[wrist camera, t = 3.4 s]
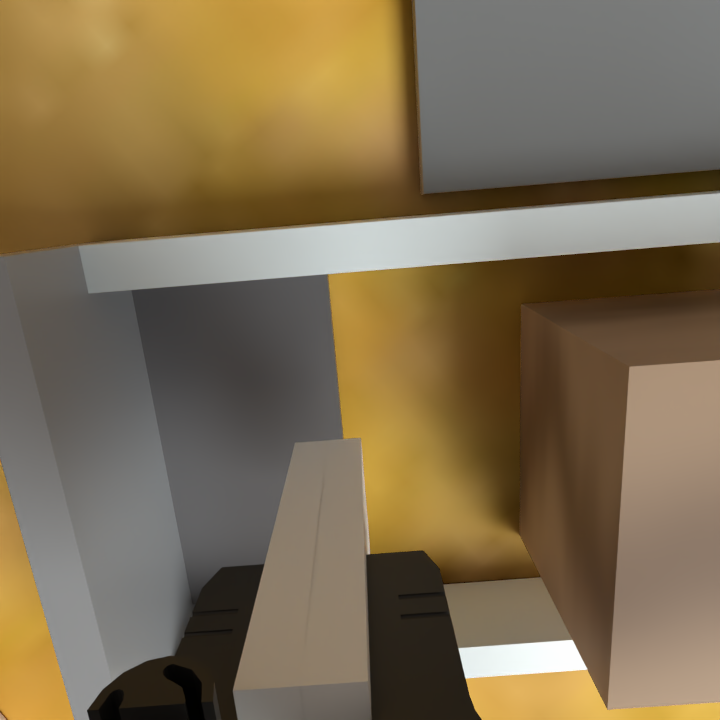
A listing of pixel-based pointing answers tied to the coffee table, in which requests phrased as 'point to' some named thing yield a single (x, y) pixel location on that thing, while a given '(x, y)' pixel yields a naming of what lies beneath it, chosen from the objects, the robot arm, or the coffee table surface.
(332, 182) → the coffee table surface
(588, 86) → the slate coaster
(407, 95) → the coffee table surface
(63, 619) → the channel
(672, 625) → the walnut block
